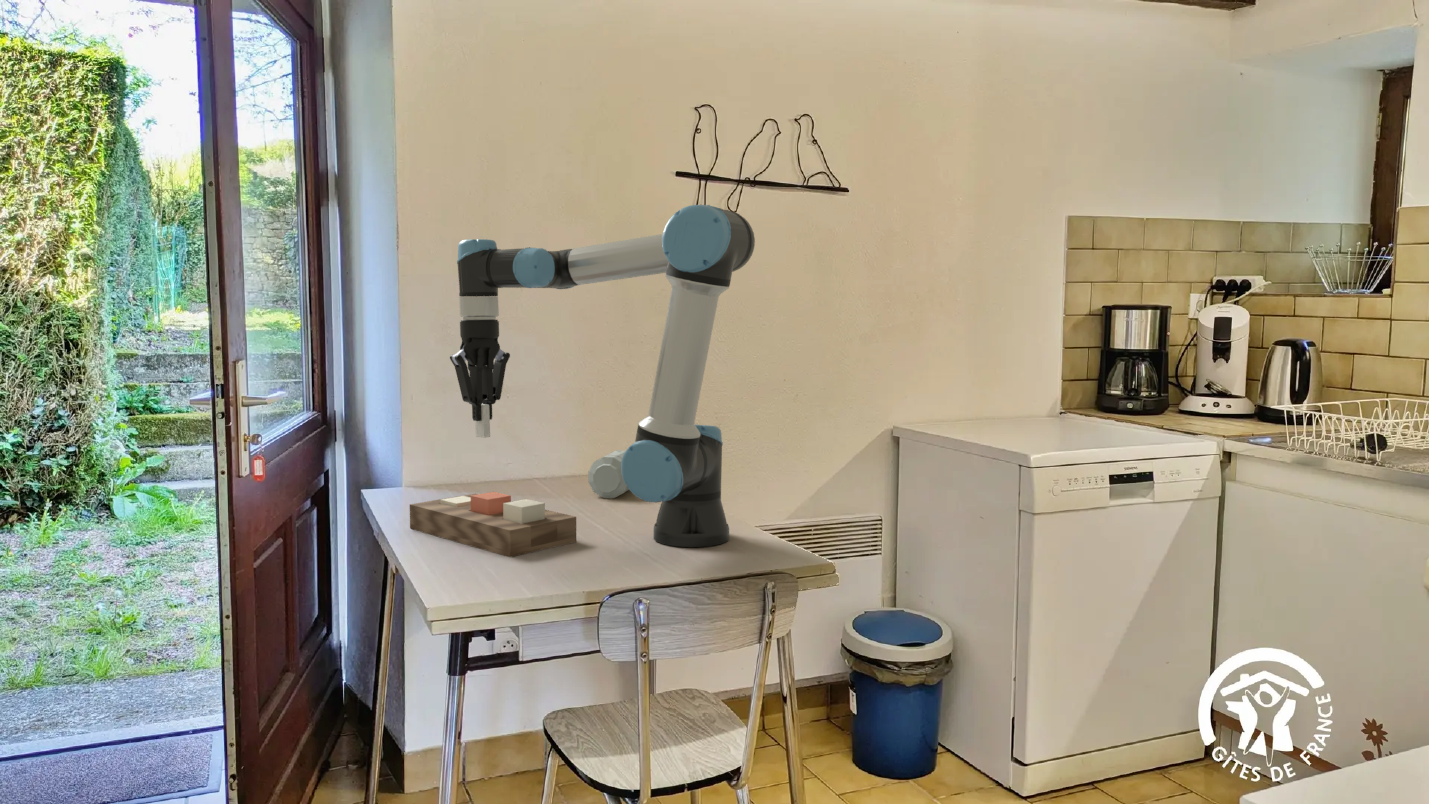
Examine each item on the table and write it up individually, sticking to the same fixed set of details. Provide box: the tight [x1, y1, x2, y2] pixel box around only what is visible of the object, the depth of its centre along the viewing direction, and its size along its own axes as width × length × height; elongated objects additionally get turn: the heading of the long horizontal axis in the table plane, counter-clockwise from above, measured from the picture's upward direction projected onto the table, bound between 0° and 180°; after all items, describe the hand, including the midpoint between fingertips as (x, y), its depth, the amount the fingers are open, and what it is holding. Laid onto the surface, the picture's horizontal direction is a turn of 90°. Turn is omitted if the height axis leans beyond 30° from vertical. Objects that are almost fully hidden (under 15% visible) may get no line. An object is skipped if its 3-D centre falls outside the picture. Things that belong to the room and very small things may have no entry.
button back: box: [440, 495, 471, 507], centre depth 206 cm, size 6×6×4 cm
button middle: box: [471, 491, 512, 515], centre depth 199 cm, size 6×6×4 cm
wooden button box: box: [409, 493, 577, 558], centre depth 199 cm, size 33×16×5 cm, turn 49°
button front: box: [503, 498, 546, 524], centre depth 192 cm, size 6×6×4 cm
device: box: [588, 449, 630, 499], centre depth 250 cm, size 31×10×10 cm, turn 168°
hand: (483, 436), depth 200 cm, fingers closed
